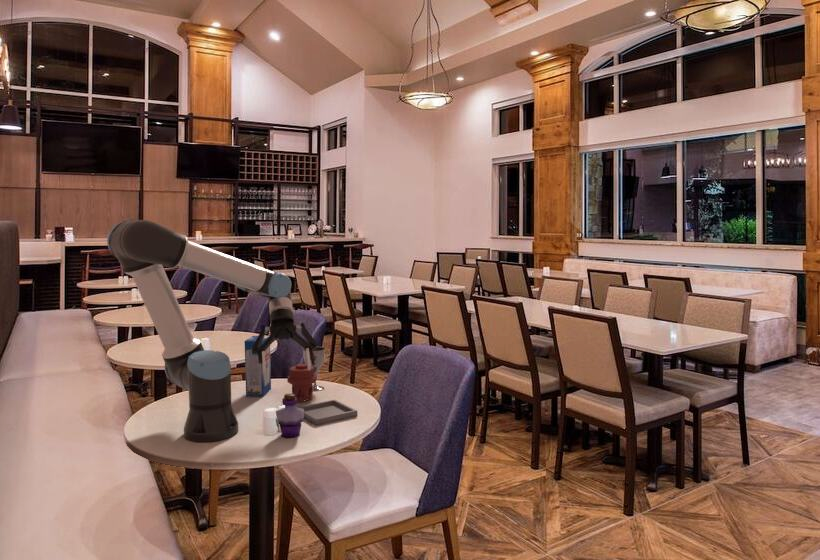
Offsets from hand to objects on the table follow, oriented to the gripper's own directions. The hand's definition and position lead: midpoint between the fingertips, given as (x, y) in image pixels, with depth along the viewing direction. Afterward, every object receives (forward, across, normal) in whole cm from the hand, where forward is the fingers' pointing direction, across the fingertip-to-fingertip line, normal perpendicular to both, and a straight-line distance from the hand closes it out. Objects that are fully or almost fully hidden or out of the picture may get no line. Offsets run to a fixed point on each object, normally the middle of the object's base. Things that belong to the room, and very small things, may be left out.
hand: (287, 370), depth 181 cm
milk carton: (-13, +7, -36) cm, 39 cm away
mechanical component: (-3, -7, -27) cm, 28 cm away
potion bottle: (+20, +1, -3) cm, 20 cm away
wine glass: (-12, -13, -36) cm, 40 cm away
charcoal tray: (+9, -12, -14) cm, 21 cm away
